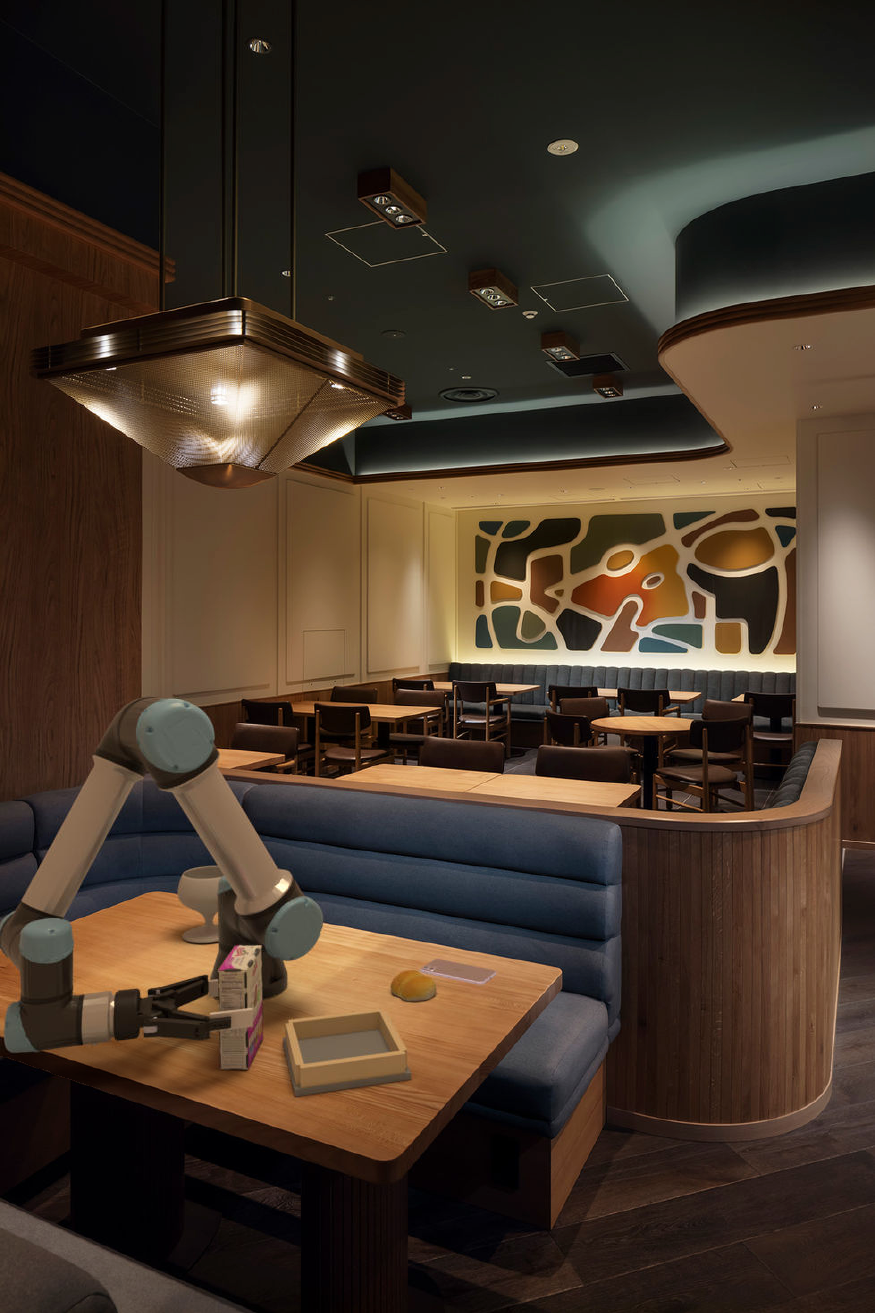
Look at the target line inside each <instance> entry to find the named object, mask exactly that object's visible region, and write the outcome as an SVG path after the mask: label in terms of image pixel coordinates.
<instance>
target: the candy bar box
mask: <svg viewBox="0 0 875 1313" xmlns="http://www.w3.org/2000/svg"><path fill="white" fill-rule="evenodd" d="M261 947H262V946H261V945H245V946H243V945H237V946H234V948H233V949H232V951H231V952H230V954H229V955H228V957H227V958H226V960H225V961H224V962H223V964H222V965H221V967H220V968H219V969H218V999H217V1000H218V1012H221V1011H229V1010H238V1009H246V1008H253V1027H246V1028H238V1029H230V1030H222V1031H218V1032H219V1033H218V1034H219V1036H218V1038H219V1070H221V1071H244V1070H245V1071H247V1070H249V1069H250V1067H251V1065H252V1063H253V1061H254V1058H255V1056H256V1054H257V1052H258V1049H259V1048H260V1046H261V1044H262V1041H263V1040H264V1024H263V1023H264V1022H263V1020H264V1018H263V1017H264V1016H263V1014H264V1012H263V1011H264V1010H263V1008H264V1007H263V1000H262V957H261Z"/></svg>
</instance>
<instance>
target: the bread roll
mask: <svg viewBox="0 0 875 1313" xmlns="http://www.w3.org/2000/svg"><path fill="white" fill-rule="evenodd" d="M390 989H391V991H392V993H393V995H394V996H396V997H398V998H400V999H402V1000H403V1001H406V1002H421V1001H427V1000H430V999H431V998H433V997H435V994H436V992H437V984H436V982H435V980H434V979H433V978H432V977H430V976H426V975H424V973H422V972H420V971H418V970H413V969H409V970H403V971H401V972H399V973H398V974H397V975H396V976H395V977H394V978H393V980H392V981H391V984H390Z"/></svg>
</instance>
